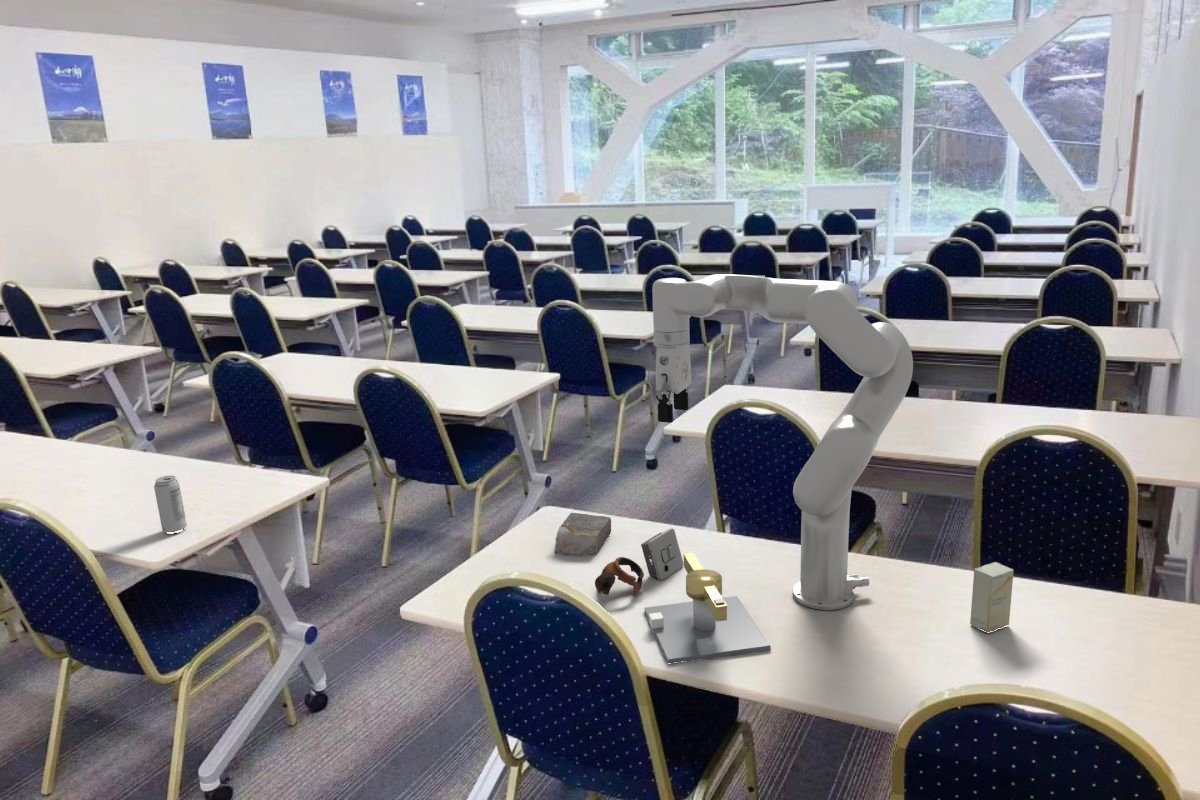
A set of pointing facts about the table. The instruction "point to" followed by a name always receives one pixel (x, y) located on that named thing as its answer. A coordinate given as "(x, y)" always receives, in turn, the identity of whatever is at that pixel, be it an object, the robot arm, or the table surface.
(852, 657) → the table surface
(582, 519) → the geological specimen
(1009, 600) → the skincare box
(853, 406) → the robot arm
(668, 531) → the electrical switch
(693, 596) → the handle
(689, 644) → the lock base
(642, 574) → the brown headphones
